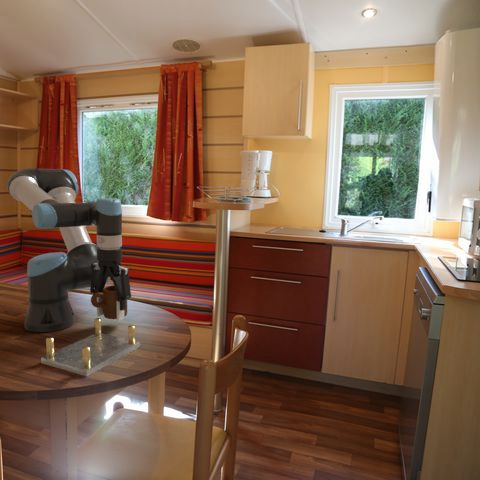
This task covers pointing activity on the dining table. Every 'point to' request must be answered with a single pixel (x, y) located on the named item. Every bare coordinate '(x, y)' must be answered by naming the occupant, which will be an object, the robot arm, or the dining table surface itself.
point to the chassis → (90, 351)
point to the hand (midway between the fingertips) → (110, 316)
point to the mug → (108, 302)
